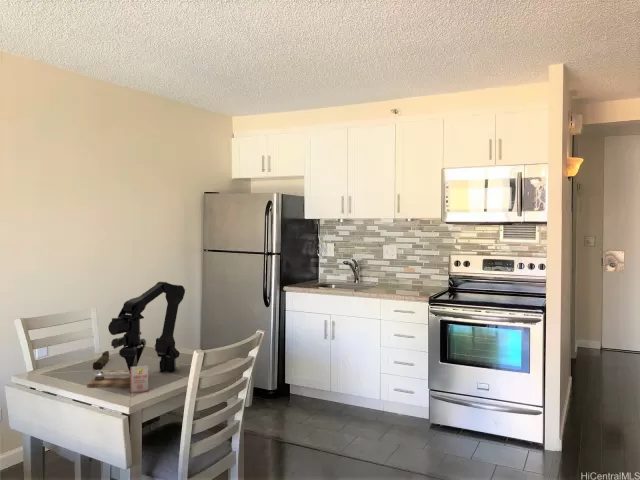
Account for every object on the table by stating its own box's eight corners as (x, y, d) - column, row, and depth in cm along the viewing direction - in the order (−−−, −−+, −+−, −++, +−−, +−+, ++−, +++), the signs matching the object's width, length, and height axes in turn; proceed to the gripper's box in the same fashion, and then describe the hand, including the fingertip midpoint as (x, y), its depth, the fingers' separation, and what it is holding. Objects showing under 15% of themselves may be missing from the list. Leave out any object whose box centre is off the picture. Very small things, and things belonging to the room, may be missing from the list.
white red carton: (130, 390, 218) (130, 365, 217) (148, 388, 220) (148, 364, 220) (130, 392, 214) (130, 368, 214) (148, 391, 216) (148, 366, 216)
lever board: (148, 373, 241) (148, 367, 241) (136, 386, 222) (136, 380, 222) (103, 373, 240) (103, 367, 240) (87, 387, 221) (87, 380, 221)
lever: (92, 377, 224) (92, 358, 224) (96, 374, 229) (95, 355, 228) (136, 377, 225) (136, 357, 225) (139, 374, 230) (138, 355, 230)
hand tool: (101, 370, 246) (101, 360, 246) (92, 370, 246) (92, 360, 246) (113, 359, 265) (113, 350, 265) (105, 359, 265) (105, 350, 264)
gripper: (120, 326, 236) (120, 361, 236) (106, 335, 217) (106, 373, 218) (146, 326, 236) (146, 360, 237) (134, 335, 218) (134, 373, 218)
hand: (133, 366), depth 227 cm, fingers open, 9 cm apart
